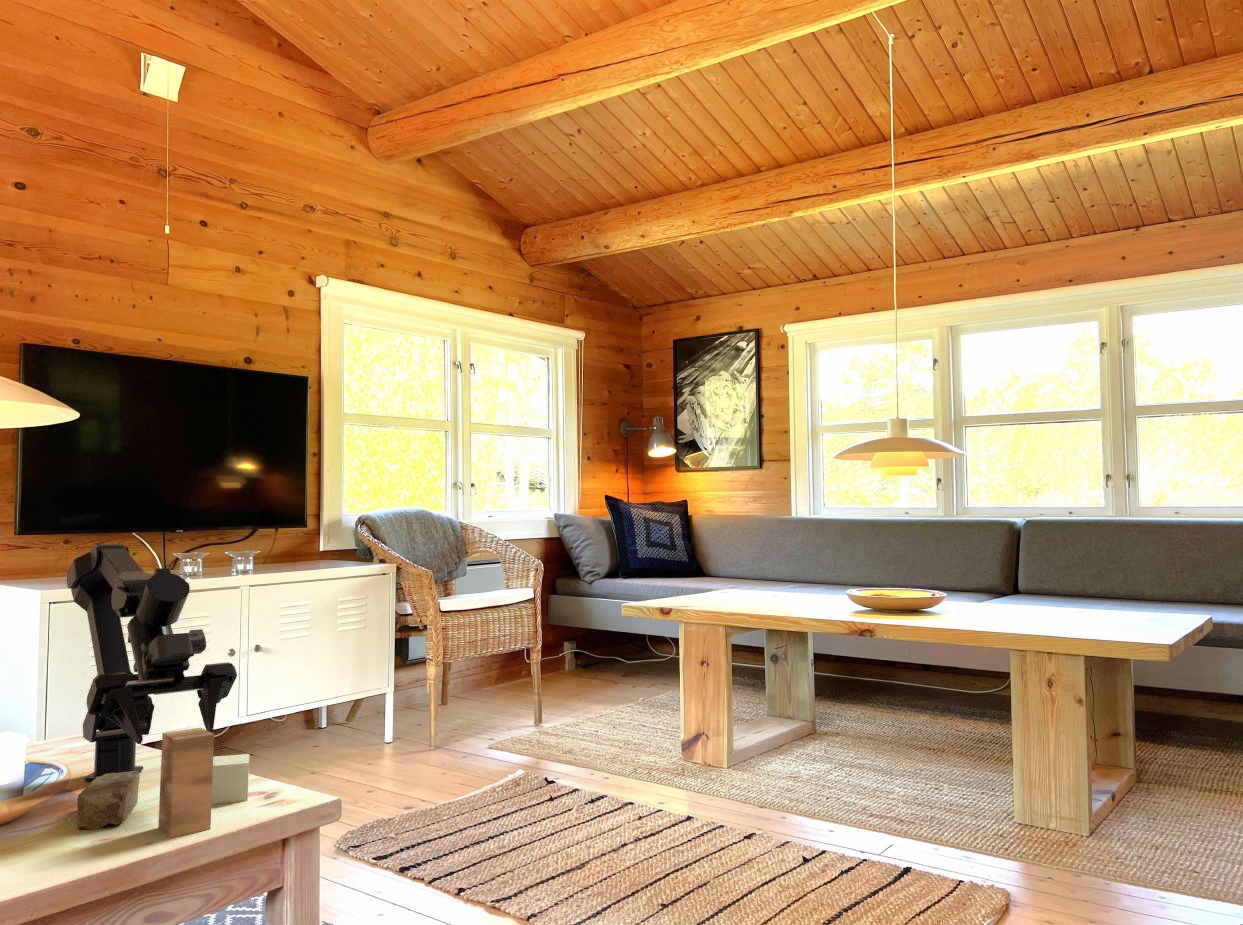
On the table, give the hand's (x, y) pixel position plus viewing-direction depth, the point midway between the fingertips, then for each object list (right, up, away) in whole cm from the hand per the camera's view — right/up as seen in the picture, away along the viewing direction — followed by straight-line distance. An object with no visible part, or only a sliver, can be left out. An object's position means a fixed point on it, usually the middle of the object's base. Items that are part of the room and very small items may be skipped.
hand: (176, 737), depth 128 cm
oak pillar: (+3, -11, -4) cm, 12 cm away
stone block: (-10, -11, 0) cm, 15 cm away
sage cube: (+3, -12, +10) cm, 16 cm away
